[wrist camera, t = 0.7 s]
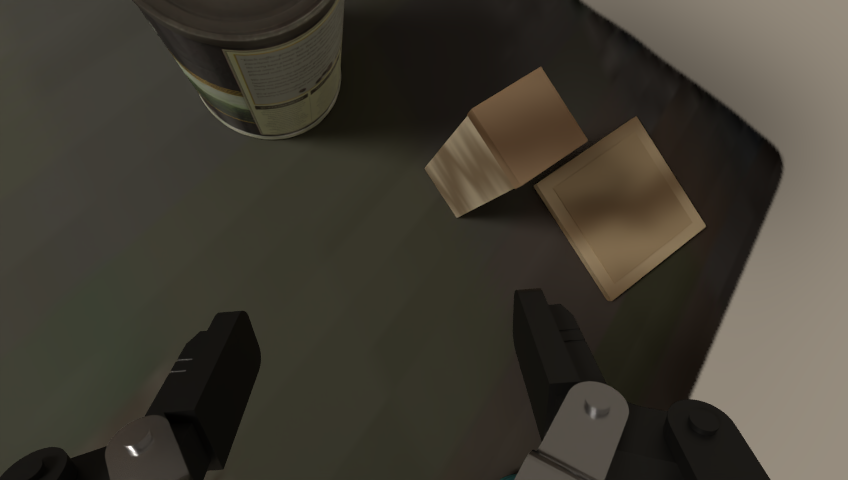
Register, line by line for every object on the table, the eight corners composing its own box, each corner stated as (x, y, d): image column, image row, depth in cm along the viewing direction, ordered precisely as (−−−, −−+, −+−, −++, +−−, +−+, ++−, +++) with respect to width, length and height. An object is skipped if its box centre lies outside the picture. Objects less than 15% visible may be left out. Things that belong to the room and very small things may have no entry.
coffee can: (185, 132, 32) (73, 15, 18) (201, -8, 33) (108, -220, 19) (337, 149, 34) (341, 57, 20) (347, 17, 35) (359, -158, 21)
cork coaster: (533, 185, 36) (537, 184, 36) (631, 118, 39) (637, 115, 38) (607, 300, 37) (612, 301, 36) (700, 227, 39) (707, 226, 38)
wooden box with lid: (423, 168, 35) (471, 108, 23) (471, 138, 36) (540, 66, 24) (456, 218, 35) (521, 186, 23) (503, 187, 36) (588, 140, 24)
